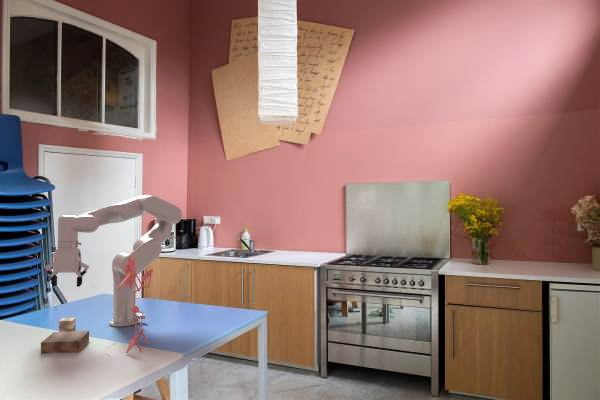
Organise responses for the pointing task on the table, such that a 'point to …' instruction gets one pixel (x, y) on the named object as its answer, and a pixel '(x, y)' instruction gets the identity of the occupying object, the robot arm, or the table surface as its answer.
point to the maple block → (67, 324)
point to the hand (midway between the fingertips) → (66, 286)
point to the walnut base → (65, 342)
